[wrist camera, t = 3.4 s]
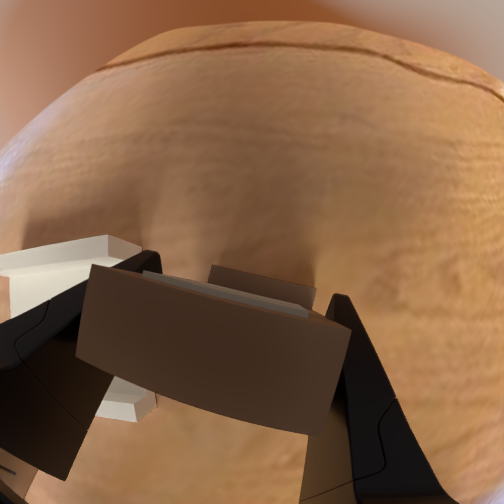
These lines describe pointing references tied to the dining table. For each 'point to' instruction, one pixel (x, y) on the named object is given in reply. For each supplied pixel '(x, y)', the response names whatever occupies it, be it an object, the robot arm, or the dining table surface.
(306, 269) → the dining table surface
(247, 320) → the brown upright block
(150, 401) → the tray
